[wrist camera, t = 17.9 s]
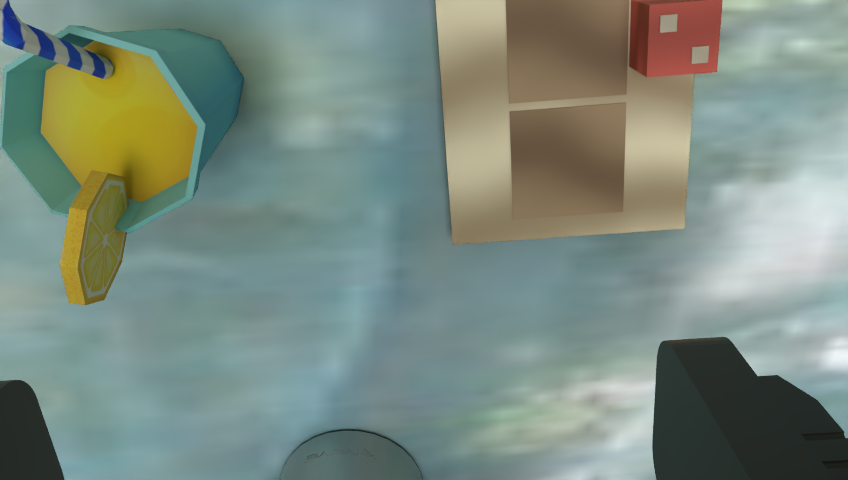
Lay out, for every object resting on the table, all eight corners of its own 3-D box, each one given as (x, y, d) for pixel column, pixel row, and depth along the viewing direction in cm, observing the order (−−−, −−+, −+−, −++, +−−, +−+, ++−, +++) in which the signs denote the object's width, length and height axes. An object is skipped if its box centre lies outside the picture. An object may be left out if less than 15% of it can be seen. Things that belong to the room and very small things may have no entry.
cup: (70, -79, 33) (-197, -97, 19) (235, -99, 32) (86, -132, 18) (147, 204, 38) (-17, 353, 24) (289, 190, 38) (205, 333, 24)
